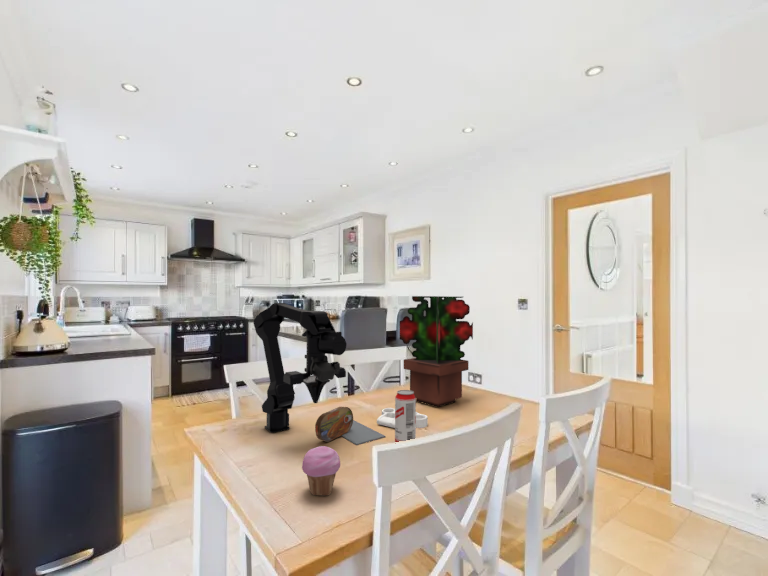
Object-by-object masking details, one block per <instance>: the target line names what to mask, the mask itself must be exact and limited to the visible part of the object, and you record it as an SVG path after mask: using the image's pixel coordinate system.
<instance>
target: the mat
mask: <svg viewBox="0 0 768 576" xmlns="http://www.w3.org/2000/svg"><path fill="white" fill-rule="evenodd" d="M340 437H341V438H343V439H345V440H347V441H348V442H350V443H352V444H353V445H355V446H360V445H362V444H366V442H367V443H369V441H370V442H373V440H374V441H377V440H381V439H383V438H386V435H385V434H382V433H381V432H379V431H376V430H374V429H372V428H370V427H368V426H367V425H365V424H362V423H360V422H358V421H357V420H355V419H353V424H352V427H351V429H350V430H349V431H348V432H347V433H345V434H343V435H341V436H340ZM359 444H360V445H359Z"/></svg>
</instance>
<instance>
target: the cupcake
mask: <svg viewBox="0 0 768 576" xmlns="http://www.w3.org/2000/svg"><path fill="white" fill-rule="evenodd" d="M340 468H341V459H340V455H339V454H338V452H337V450H335V449H333V448H331V447H329V446H324V445H323V446H322V445H320V446H317V447H313V448H310V449H309V450H308V451H307V452H306V453H305V454H304V457H303V458H302V464H301V469H302V472H303V473H304V474H305V475H306V477H307V480H308V486H309V491H310V493H311V494H312V495H313V496H329V495H330V494H331V493H332V491H333V486H334V484H335V483H334V482H335V479H336V474H337V472H339V470H340Z"/></svg>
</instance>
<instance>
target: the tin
mask: <svg viewBox="0 0 768 576" xmlns="http://www.w3.org/2000/svg"><path fill="white" fill-rule="evenodd" d="M353 420H354V413H353V411H352V409H351V408H350V407H349V406H338V407H335V408H332V409H331V410H329V411H326V412H324V413H322V414H320V415H319V416H318V418H317V419H316V422H315V425H314V426H315V429H314V431H315V436H316V437H317V439H318V440H320V441H324V442H326V443H329V442H332V441H334V440H335V439H337V438H340V437H342V436H341V435H343V434H345V433H347V432H348V431H349V430H350V429H351V427H352V424H353Z"/></svg>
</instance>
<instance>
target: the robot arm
mask: <svg viewBox="0 0 768 576" xmlns="http://www.w3.org/2000/svg"><path fill="white" fill-rule="evenodd" d="M285 319H287V320H290V321H295V323H296V322H297V323H298V324H299V325H300V327H302V328H303V329H304V330H305V331H304V332H303V333H302V334H301V336H302V337H303V338H306V354H304V359H306V364H305V365H306V366H305V367H304V372H300V371H297V370H294V371H285V369H284V365H283V360H282V355H281V350H280V343H279V339H278V338H279V334H280V331H281V324H282V323H283V322H284V321H285ZM253 326H254V329H255V333H256V335H257V336H258V337H259V338H260V340H262V344H263V350H264V355H265V360H266V365H267V372H268V376H269V386H268V387H267V391H266V394H267V397H266V400H265V401H263V403H262V404H261V411H262V412H263V413H265V414H266V425H264V429H266V431H268V432H269V433H271V434H274V433H278V432H282V431H287V430H290V429H291V428H290V412H289V410H290V409H292V408H293V404H294V401H295V395H296V393H295V390H294V385H295V386H296V385H301V384H303V383H304V384H305V386H306V388H307V390H308V392H309V395H310V397H311V400H312V403H314V404H318V402H319V400H320V397H321V393H322V391H323V388H324V387H325V385H326V384H328V383H330V381H331V380H334V378H335V377H336V378H337V379H341V378H346V377H347V370H346V369H345V367H341V365H340V363H339V361H332V362H329V357H328V355H333V356H341V355H343V354H344V353H346V350H347V342H346V338H345V337H344V336H343V335H342V334H343V333H342V331H336V329H335V327H334V325H333V323H332V321H331V319H330V316H329V315H328V312H326V311H325V310H322V311H321V310H306V309H303V308H299V307H296V306H293V305H290V304H288V303H286V302H273V303H272V304H271V305H270V306H269V307H267V308H266V309H264V310H262V311H260V312H259V313H258V314H257V315H256V317H255V318H254V320H253ZM326 354H327V355H326Z"/></svg>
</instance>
